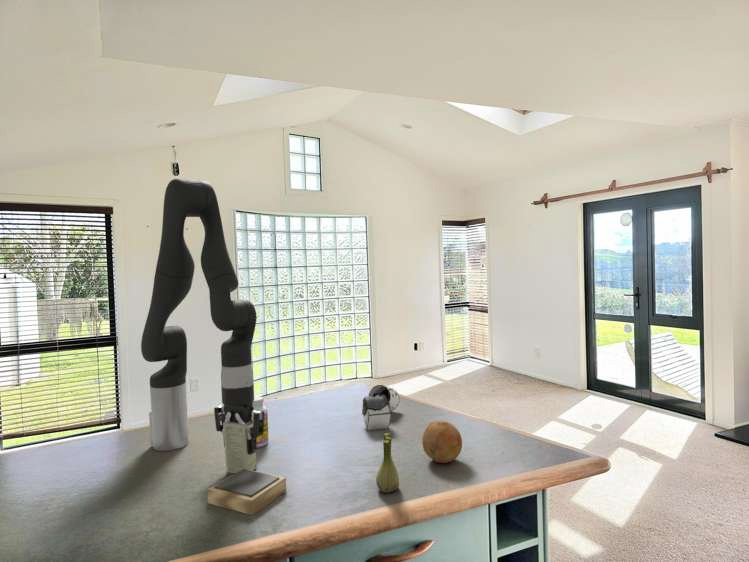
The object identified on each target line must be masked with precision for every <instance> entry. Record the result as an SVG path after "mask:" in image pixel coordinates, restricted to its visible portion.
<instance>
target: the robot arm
mask: <svg viewBox="0 0 749 562" xmlns="http://www.w3.org/2000/svg"><path fill="white" fill-rule="evenodd" d="M163 199H164V200H163V207H162V208H163V211H162V213H163V214H162V225H161V226H162V228H161V238H160V243H159V251H158V255H157V256H158V257H157V261H156V266H155V267H156V268H155V272H154V279H153V287H152V293H151V299H150V305H149V308H148V313H147V317H146V320H145V325H144V326H143V327H144V328H143V331H142V336H141V341H140V343H141V344H140V351H141V355H142V357H143V359H144V360H145V361H146V362H148V363H156V362H159V363H160V362H165V361H167V362H166V364H165V365H164V366H163V367H162V368H161V369H159V370H157V371H156V372H154V373H153V374H151V375H150V378H149V390H150V391H149V393H150V394H149V395H150V412H149V414H148V417H149V418H148V419H149V438H150V440H149V441H150V442H149V443H150V447H152V448H153V450H154V451H158V452H166V451H167V452H169V451H174V450H178V449H181V448H183V447H185V446H187V445H188V444H189V441H190V440H189V422H188V420H189V419H188V399H187V398H188V397H187V381H186V380H187V379H186V377H187V374H188V373H187V371H188V366H187V365H188V360H187V359H188V340H187V335H186V332H185V330H184V328H183V327H182V326H180V325H168V326H166V324H167V322H168V319H169V318H170V316H171V314H173V312H174V311H175V310H176V309H177V308H178V306H179V305H181V303H182V302H183V301H184V300H185V298H186V297H187V296H188V294H189V293H190V291H191V288H192V284H193V279H194V276H195V275H194V274H195V267H196V265H195V261H194V258H193V256H192V254H191V251H190V249H189V247H188V246H187V244H186V241H185V237H184V236H185V235H184V233H185V222H186V219H187V217H188V218H199V219H200V220H201V223H202V226H203V230H204V240H203V243H202V249H201V253H200V265H201V270H202V272H203V276H204V279H205V281H206V283H207V286H208V290H209V291H208V293H209V304H210V305H209V308H210V317H211V320H212V323H213V325H215V327H216V328H217V329H219V330H220V331H222V332H230V331H232V332H231V336H230V337H229V338H228V339H226V340H225V341H223V342H222V344H221V346H220V357H221V359H220V360H221V363H220V364H221V369H220V370H221V372H220V388H221V403H222V404H221V405H217V406H216V407H214V408H213V411H214V422H215V429H216V431H217V432H220V433H221V434H222V435H223V438H224V430H223V423H224V422H228V423H229V422H235V423H239V424H240V425H244V429H245V430H246V436H247V438H248V439H247V453H248V454H249V455H251V454H253V453H255V452H256V453H257V450H258V448H257V437H259V436H261V435H263V434H264V411H263V410H261V411H255V410H254V408H253V405H252V404H253V401H254V396H255V385H254V382H255V381H254V369H253V363H252V362H253V361H252V359H253V358H252V344H253V340H254V334H255V331H256V326H257V320H258V319H257V317H258V316H257V310H256V308H255V306H254V304H253V303H252V302H251V301H250V300H248V299H235V300H232V298H231V293H232V292H234V291H236V290H237V289H238V288H239V280H238V276H237V274H236V271H235V269H234V265H233V263H232V260H231V257H230V254H229V251H228V248H227V244H226V239H225V232H224V227H223V222H222V217H221V211H220V206H219V201H218V197H217V194H216V192H215V189H214V187H213V186H212V184H211V183H210V182H208V181H205V180H199V179H191V178H190V179H188V178H174V179H172V180H170V181H169V182H168V184H167V186H166V189H165V192H164V198H163ZM252 416H253V418H252ZM249 421H251V424H250V425H248V426H247V425H246V424H245V423H247V422H249ZM250 428H251V432H252V433H251V432H250V430H249V429H250ZM258 428H259V431H258ZM223 447H224V448H225V444H224V443H223Z"/></svg>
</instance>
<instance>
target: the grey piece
mask: <svg viewBox="0 0 749 562" xmlns="http://www.w3.org/2000/svg"><path fill="white" fill-rule="evenodd" d="M399 404H400V395H399V392H398V391H397V390H396V389H394V388H392V387H390V386H387V385H384V384H377V385H375V386H373V387H372V388H371V389H370V391H369V393H368V396H364V397H363V399H362V409H361V411H362V412H361V415H362V417H363V420H364V425H365V429H366V431H375V430H377V431H378V430H385V429H386V430H387V429H389V428H390V424H391V417H392V412H393V411H395V410H396V409H397V408H398V406H399Z"/></svg>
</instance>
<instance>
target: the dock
mask: <svg viewBox="0 0 749 562" xmlns="http://www.w3.org/2000/svg"><path fill="white" fill-rule="evenodd" d="M206 490H207V503H208V504H210V505H213V506H217V507H220V508H221V507H222V508H224V509H228V510H232V511H235V512H239V513H244V514H248V515H251V516H253V515H255V514H256V513H258V512H259V511H260V510H262V509H263V508H265V507H266V506H267V505H269V504H270V503H272V502H273V501H274V499H275V500H276V499H278V498H279V497H280V496H282V495H283V494H285V493H286V492H287V478H286V477H283V476H280V475H275V474H270V473H265V472H261V471H257V470H253V471H252V470H247V469H242V470H240V471H239V472H237V473H232V474H231V475H230V476H229V477H226V478H224V479H223V480H221V481H219V482H217V483H216V484H214V485H212V486H210V487H209V488H207V489H206ZM285 491H286V492H285ZM284 492H285V493H284ZM282 493H283V494H282ZM281 494H282V495H281ZM278 496H279V497H278ZM277 497H278V498H277Z"/></svg>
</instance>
